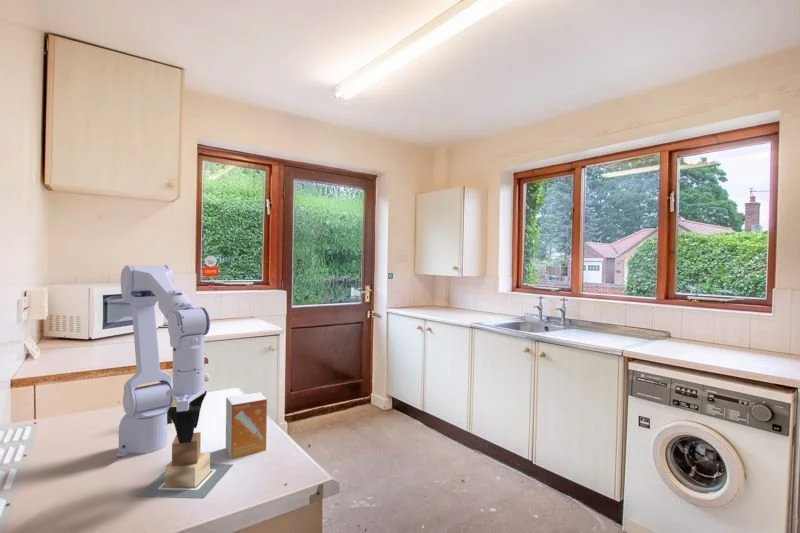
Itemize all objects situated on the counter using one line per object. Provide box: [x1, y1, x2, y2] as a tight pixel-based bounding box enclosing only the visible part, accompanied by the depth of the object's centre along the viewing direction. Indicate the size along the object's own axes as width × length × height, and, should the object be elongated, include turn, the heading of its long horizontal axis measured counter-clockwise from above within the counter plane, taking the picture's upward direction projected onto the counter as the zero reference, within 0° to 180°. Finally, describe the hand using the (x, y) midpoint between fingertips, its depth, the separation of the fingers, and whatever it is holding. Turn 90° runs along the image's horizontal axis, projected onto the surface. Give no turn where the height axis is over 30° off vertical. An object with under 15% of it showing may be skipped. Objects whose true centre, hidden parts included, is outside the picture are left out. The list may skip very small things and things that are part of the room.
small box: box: [225, 391, 268, 459], centre depth 98 cm, size 8×6×13 cm
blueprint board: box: [135, 463, 234, 499], centre depth 85 cm, size 13×13×1 cm
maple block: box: [164, 452, 211, 488], centre depth 85 cm, size 6×6×4 cm
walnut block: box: [171, 431, 201, 467], centre depth 85 cm, size 4×4×4 cm
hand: (188, 434), depth 85 cm, fingers open, 7 cm apart
